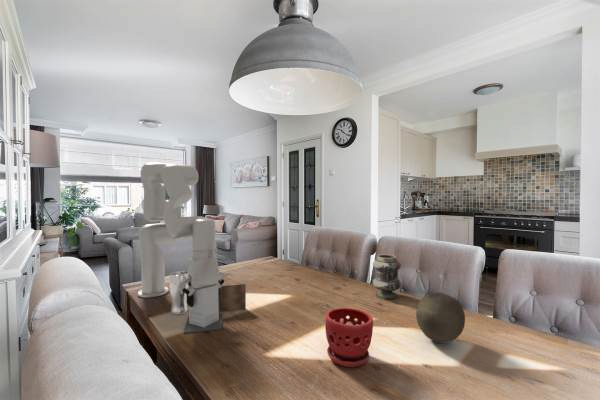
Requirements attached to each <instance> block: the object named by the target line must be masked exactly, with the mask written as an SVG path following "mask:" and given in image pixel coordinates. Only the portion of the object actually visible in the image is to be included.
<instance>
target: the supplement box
mask: <svg viewBox="0 0 600 400" xmlns="http://www.w3.org/2000/svg"><path fill="white" fill-rule="evenodd" d="M192 295H193V307H190V306H189V305H188V317H189V324H193V325H196V326H200V327H203V328H204V327H206V326H208V325H210V324H212V323H214V322H216V321H218V320H219V314H220V312H219V304H218V285H211V286H207V287H203V288H198V289H195V291H194V292H193V293H192Z"/></svg>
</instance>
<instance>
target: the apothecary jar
mask: <svg viewBox="0 0 600 400" xmlns="http://www.w3.org/2000/svg"><path fill="white" fill-rule="evenodd" d="M372 266H373V267H374V268H375V278H374V279H372V284H373V286H374V287H375V288H376V289H377V290H378V291H376V292H375V294H374V295H375V297H377V298H378V299H381V300H388V301H390V300H391V301H392V300H396V299H398V298H399V294H397V293H396V292H394V291H398V290H400V288H401V286H402V284H401V281H400V280H399V275H398V272H399V270H400V269H401V266H402V265H401V263H400V262H399V260H398V258H397V256H396V255H394V254H378V255H377V256H376V259H375V260H374V261H373V263H372Z"/></svg>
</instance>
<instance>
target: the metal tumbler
mask: <svg viewBox="0 0 600 400" xmlns="http://www.w3.org/2000/svg"><path fill="white" fill-rule="evenodd" d="M187 274H188V270H177V271H172V272H170V273H169V285H168V286H169V287H168V288H169V293H170V299H171V308H170V314H171V315H175V316H178V315H183V314H186V313H187V312H189V306H188V304H187V294H185V293H184V292H183V291H182V290H181V288H180V287H179V283H180V282H182V281H183V280H184V279H186V278H187ZM188 287H189V286H188V285H187V284H186V285H185V288H186V289H187V288H188Z"/></svg>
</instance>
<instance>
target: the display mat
mask: <svg viewBox="0 0 600 400" xmlns="http://www.w3.org/2000/svg"><path fill="white" fill-rule="evenodd" d="M220 330H223V313H222V312H220V313H219V320H218V321H216V322H214V323H212V324H210V325H208V326H206V327H204V328H203V327H200V326H196V325H193V324H189V316H188V317H187V321H186V324H185V328H184V333H183V334H184V335H185V334H192V333H201V332H209V331H210V332H211V331H220Z"/></svg>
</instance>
